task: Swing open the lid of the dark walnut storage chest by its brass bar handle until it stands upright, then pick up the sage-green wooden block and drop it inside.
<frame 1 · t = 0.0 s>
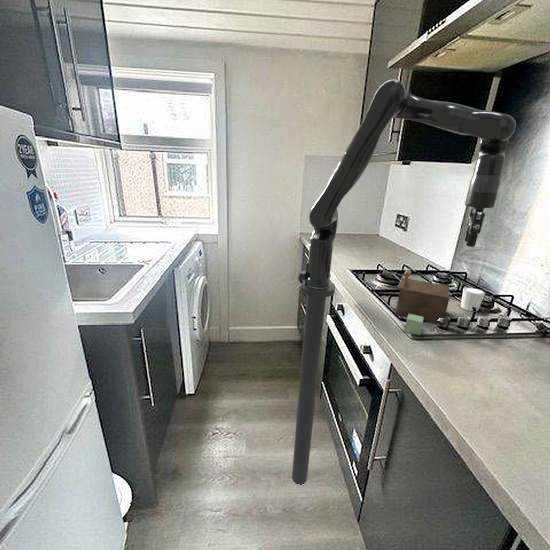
hand: (469, 243, 95), 26 cm above the counter, tool pointing down, fingers open, 8 cm apart
lid: (424, 281, 103), point 12 cm above the counter, hinge at 0.0°
chest: (419, 312, 107), on the counter
block: (412, 330, 94), on the counter
white cup: (469, 308, 112), on the counter
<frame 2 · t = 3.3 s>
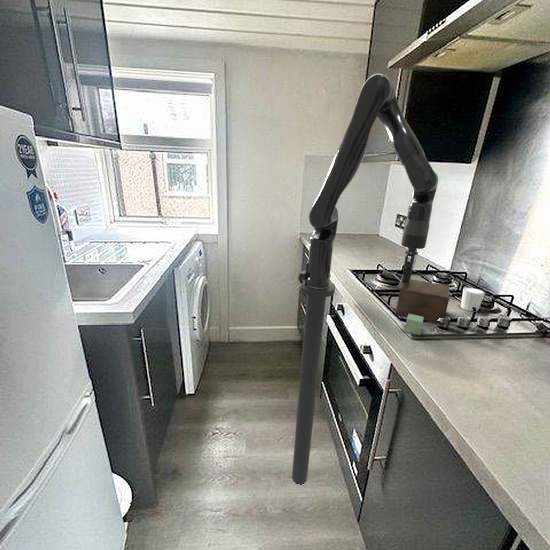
hand: (406, 280, 106), 11 cm above the counter, tool pointing down, fingers closed on lid, 5 cm apart
lid: (424, 281, 103), point 12 cm above the counter, hinge at 0.0°, touching gripper
everything else where it was.
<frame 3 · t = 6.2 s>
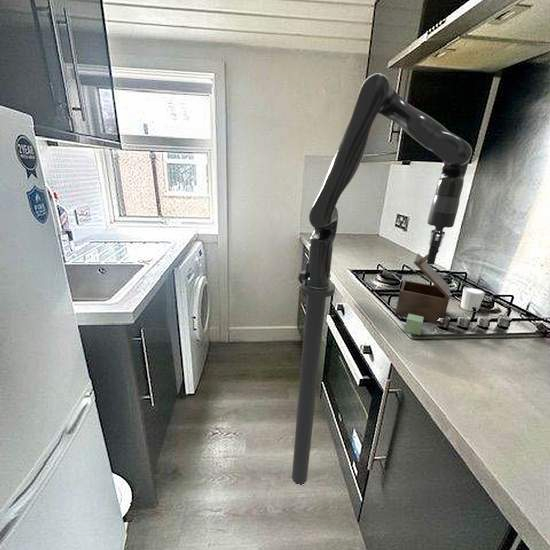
hand: (430, 261, 101), 19 cm above the counter, tool pointing down, fingers closed on lid, 5 cm apart
lid: (438, 270, 100), point 16 cm above the counter, hinge at 40.2°, touching gripper
everything else where it was.
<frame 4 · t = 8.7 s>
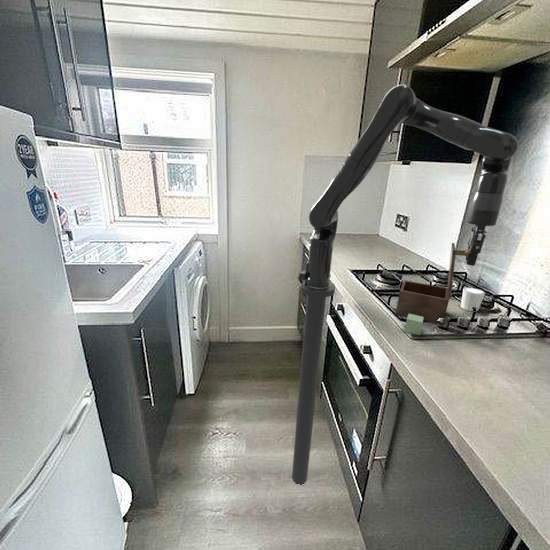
hand: (469, 262, 95), 20 cm above the counter, tool pointing down, fingers closed on lid, 5 cm apart
lid: (459, 270, 97), point 17 cm above the counter, hinge at 83.3°, touching gripper
everything else where it was.
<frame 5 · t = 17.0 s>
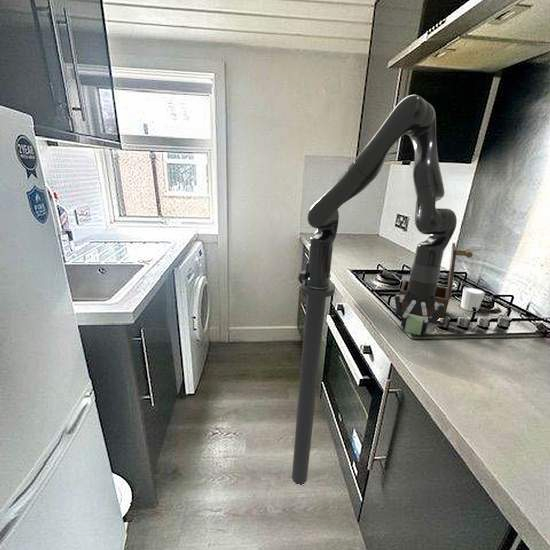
hand: (412, 329, 93), 0 cm above the counter, tool pointing down, fingers closed on block, 4 cm apart
lid: (459, 270, 97), point 17 cm above the counter, hinge at 83.9°
block: (412, 330, 94), on the counter, touching gripper
everything else where it was.
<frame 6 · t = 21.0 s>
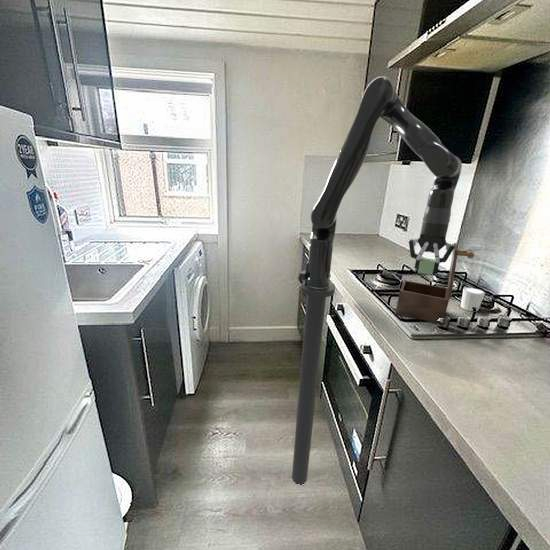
hand: (425, 271, 102), 15 cm above the counter, tool pointing down, fingers closed on block, 4 cm apart
lid: (460, 270, 97), point 17 cm above the counter, hinge at 85.5°
block: (425, 272, 102), point 15 cm above the counter, touching gripper
everything else where it was.
when the fingers open (8 cm above the counter, at t = 23.3 s): block drops 7 cm, resting on chest.
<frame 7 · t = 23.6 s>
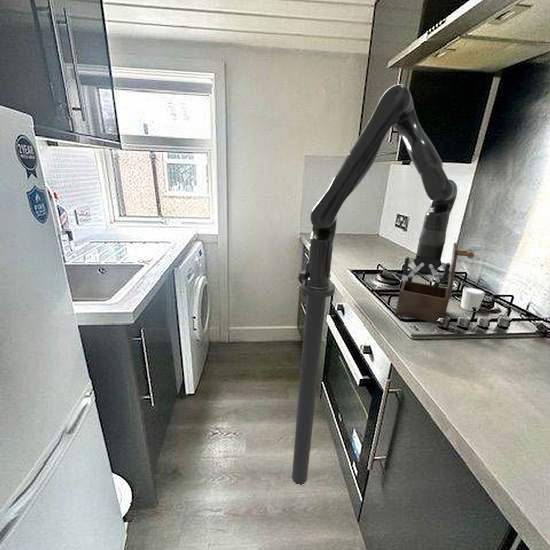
hand: (421, 289, 104), 9 cm above the counter, tool pointing down, fingers open, 7 cm apart
block: (417, 309, 107), point 1 cm above the counter, touching chest
everything else where it was.
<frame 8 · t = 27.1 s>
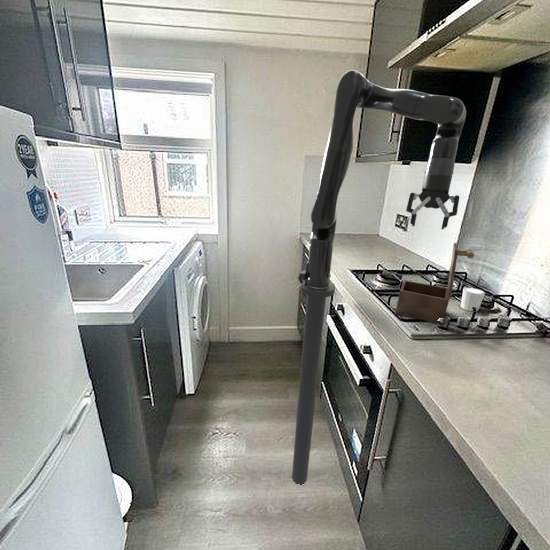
hand: (427, 227, 97), 30 cm above the counter, tool pointing down, fingers open, 8 cm apart
nothing on the counter moved.
at the end: lid at +86° (first picture: +0°); block inside the target area in the chest (0.9 cm from its centre), point 0.8 cm above the chest's base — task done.
